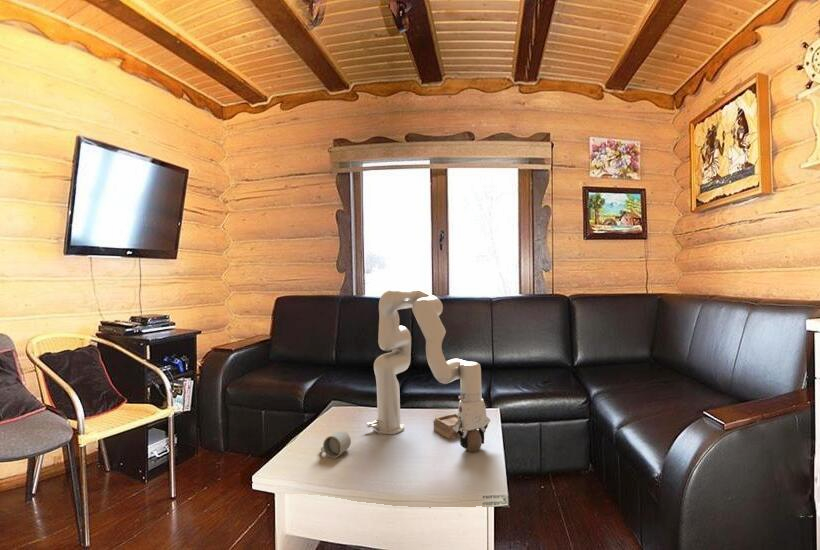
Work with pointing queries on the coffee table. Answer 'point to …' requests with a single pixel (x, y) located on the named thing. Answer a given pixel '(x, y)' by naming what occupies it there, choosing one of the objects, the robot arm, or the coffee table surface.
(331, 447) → the ceramic mug
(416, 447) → the coffee table surface
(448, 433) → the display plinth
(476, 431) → the vase
